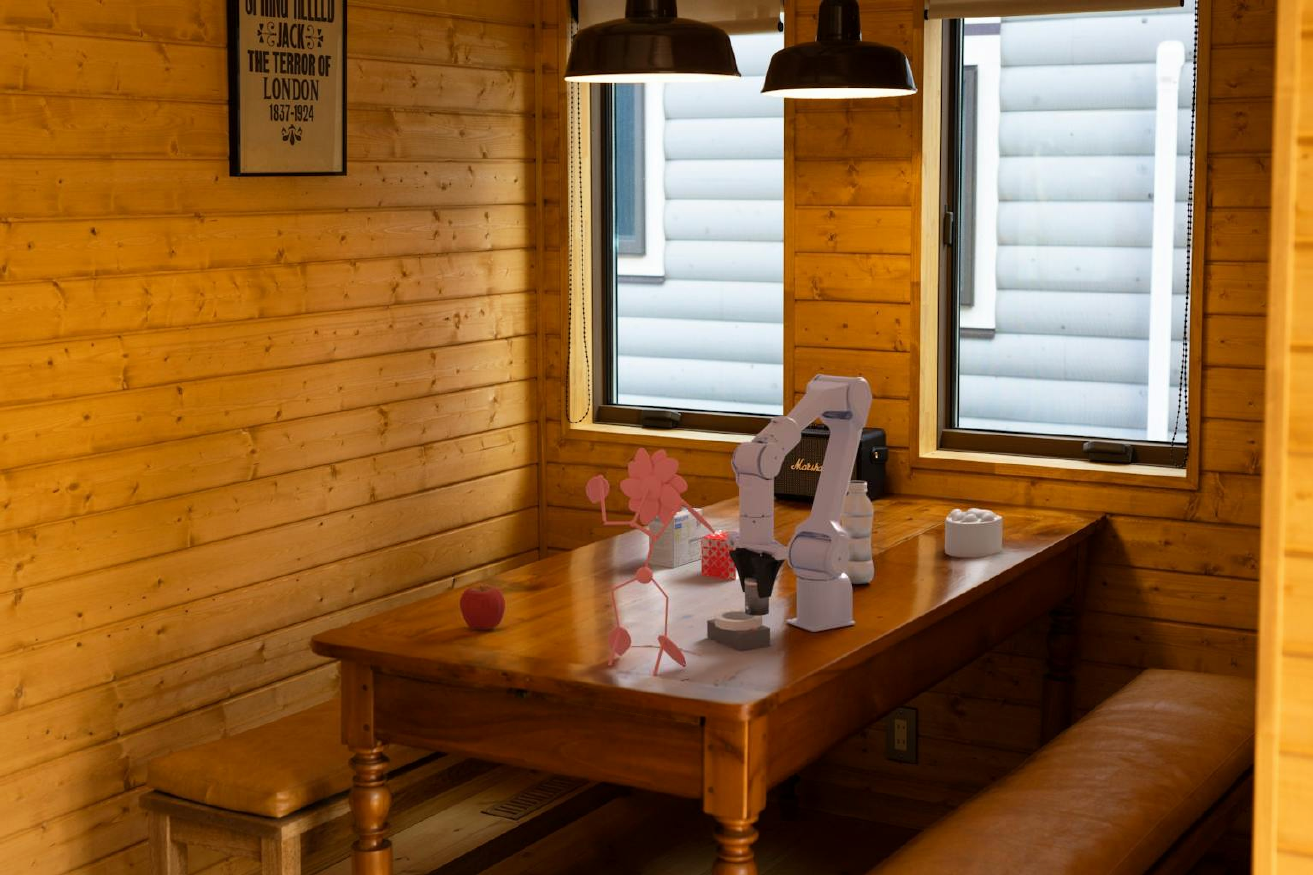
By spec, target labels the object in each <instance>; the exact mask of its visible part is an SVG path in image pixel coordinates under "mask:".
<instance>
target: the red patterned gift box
mask: <svg viewBox="0 0 1313 875" xmlns="http://www.w3.org/2000/svg"><path fill="white" fill-rule="evenodd" d="M735 532H736V533H739V531H735V530H734V531H732V530H722V529H719V530H717V531H715V532H714V533H713V532H711V533H709V534H706V535H702V537H701V559H700V561H701V567H700V568H701V569H700V570H701V572H700V573H701V577H712V578H718V579H725V578H728V579H727V580H732V579H734V581H736V580H739V579H738V578H739V576H738V572H737V569H736V567H735V565H734V562H733V561H732V559H731V557H730V556H729V551H733V550H735V549H736V547H735V546H734V545H732V546H729V545H727V534H728V533H735Z"/></svg>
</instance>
